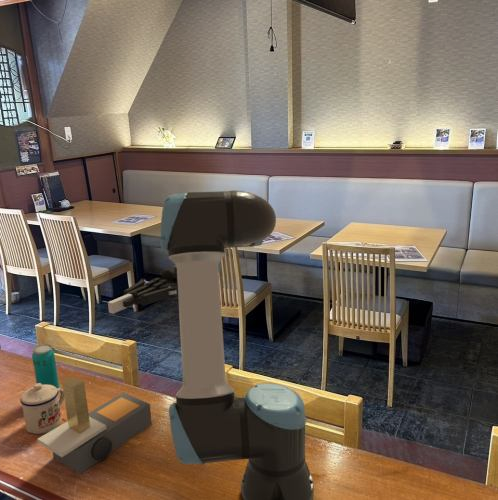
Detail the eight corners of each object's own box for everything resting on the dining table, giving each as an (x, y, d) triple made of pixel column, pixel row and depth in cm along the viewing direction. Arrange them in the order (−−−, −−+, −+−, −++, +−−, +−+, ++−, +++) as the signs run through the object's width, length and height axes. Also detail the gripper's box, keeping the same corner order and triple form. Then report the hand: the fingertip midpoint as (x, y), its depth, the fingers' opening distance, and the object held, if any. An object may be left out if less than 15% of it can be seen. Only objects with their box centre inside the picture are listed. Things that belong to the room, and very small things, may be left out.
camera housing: (125, 412, 136) (123, 392, 134) (155, 425, 130) (153, 405, 128) (53, 457, 119) (49, 435, 117) (83, 476, 113) (79, 452, 111)
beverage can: (44, 390, 148) (36, 344, 144) (63, 390, 148) (56, 343, 144) (35, 401, 142) (27, 353, 138) (55, 401, 142) (48, 353, 138)
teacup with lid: (42, 439, 126) (35, 397, 123) (17, 429, 130) (10, 389, 127) (78, 413, 136) (72, 374, 133) (54, 405, 140) (48, 367, 137)
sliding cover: (82, 416, 124) (75, 368, 120) (106, 428, 119) (100, 379, 115) (38, 442, 114) (29, 391, 111) (61, 457, 109) (53, 404, 106)
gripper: (196, 296, 137) (130, 328, 119) (161, 287, 145) (94, 316, 126) (194, 270, 135) (127, 298, 117) (159, 262, 142) (91, 288, 124)
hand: (110, 307), depth 121 cm, fingers closed
